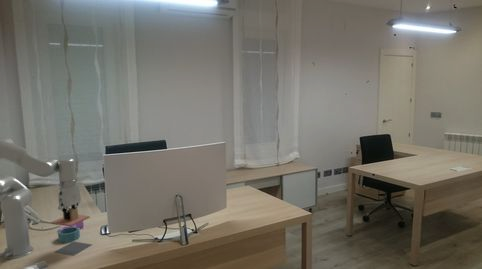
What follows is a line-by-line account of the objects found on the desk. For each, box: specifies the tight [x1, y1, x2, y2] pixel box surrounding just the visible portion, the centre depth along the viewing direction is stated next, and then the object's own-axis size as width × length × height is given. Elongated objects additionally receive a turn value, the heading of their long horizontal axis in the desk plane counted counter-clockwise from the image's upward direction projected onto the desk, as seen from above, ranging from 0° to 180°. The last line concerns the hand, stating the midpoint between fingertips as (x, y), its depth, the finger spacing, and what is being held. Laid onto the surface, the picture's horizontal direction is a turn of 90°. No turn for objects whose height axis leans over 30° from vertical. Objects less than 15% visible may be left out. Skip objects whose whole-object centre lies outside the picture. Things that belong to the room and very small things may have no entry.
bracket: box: [58, 221, 85, 232], centre depth 203 cm, size 13×6×7 cm, turn 119°
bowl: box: [57, 227, 81, 243], centre depth 188 cm, size 10×10×5 cm
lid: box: [50, 207, 91, 227], centre depth 174 cm, size 12×12×6 cm
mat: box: [53, 241, 93, 257], centre depth 176 cm, size 13×13×1 cm
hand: (70, 217), depth 174 cm, fingers closed on lid, 3 cm apart
